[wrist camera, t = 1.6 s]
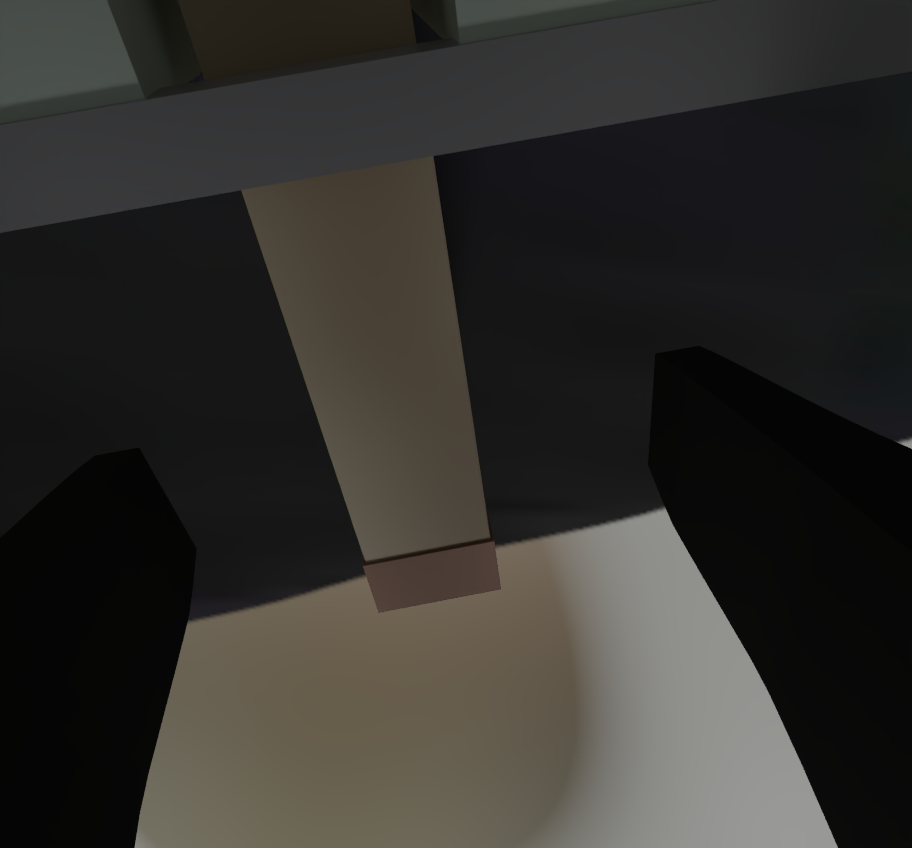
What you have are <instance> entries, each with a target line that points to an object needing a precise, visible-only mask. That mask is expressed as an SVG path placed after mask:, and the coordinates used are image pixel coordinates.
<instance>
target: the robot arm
mask: <svg viewBox="0 0 912 848" xmlns="http://www.w3.org/2000/svg"><path fill="white" fill-rule="evenodd" d="M648 466H649V468H650V471H651V473H652V476H653V478H654V481H655V483H656V486H657V488H658V491H659V493H660V496H661V498H662V501H663V503H664V505H665V508H666V510H667V512H668V514H669V517H670V519H671V521H672V524H673V526H674V527H675V529H676V531H677V533H678V535H679V536H680V538H681V540H682V542H683V543H684V545H685V547H686V549H687V550H688V552H689V554H690V556H691V557H692V559H693V561H694V562H695V564H696V566H697V568H698V569H699V571H700V573H701V574H702V576H703V578H704V579H705V581H706V583H707V585H708V586H709V588H710V590H711V592H712V593H713V595H714V597H715V598H716V600H717V602H718V604H719V605H720V607H721V609H722V610H723V612H724V614H725V615H726V617H727V619H728V621H729V622H730V624H731V626H732V627H733V629H734V631H735V633H736V634H737V636H738V638H739V639H740V641H741V643H742V645H743V646H744V648H745V650H746V651H747V653H748V655H749V656H750V658H751V660H752V662H753V663H754V666H755V667H756V669H757V671H758V673H759V675H760V677H761V679H762V681H763V683H764V684H765V686H766V688H767V690H768V692H769V694H770V696H771V698H772V701H773V703H774V705H775V707H776V709H777V711H778V714H779V716H780V718H781V720H782V722H783V724H784V727H785V729H786V731H787V733H788V735H789V737H790V740H791V742H792V744H793V746H794V748H795V750H796V753H797V755H798V757H799V759H800V761H801V764H802V766H803V768H804V770H805V773H806V775H807V777H808V780H809V782H810V784H811V786H812V789H813V791H814V793H815V796H816V798H817V800H818V802H819V805H820V807H821V809H822V812H823V814H824V816H825V819H826V821H827V823H828V826H829V828H830V830H831V832H832V835H833V837H834V839H835V842H836V844H837V846H838V848H912V449H911V448H908V447H906V446H904V445H902V444H899V443H897V442H895V441H892V440H890V439H888V438H886V437H883V436H881V435H879V434H877V433H875V432H872V431H870V430H868V429H866V428H864V427H862V426H860V425H858V424H855V423H853V422H851V421H849V420H847V419H845V418H843V417H841V416H839V415H837V414H835V413H833V412H831V411H828V410H826V409H824V408H822V407H820V406H818V405H816V404H814V403H812V402H810V401H808V400H806V399H804V398H803V397H801V396H799V395H797V394H795V393H793V392H791V391H789V390H787V389H785V388H783V387H781V386H779V385H777V384H775V383H773V382H771V381H769V380H767V379H765V378H764V377H762V376H760V375H758V374H756V373H754V372H752V371H750V370H748V369H746V368H744V367H742V366H740V365H738V364H736V363H734V362H732V361H730V360H728V359H726V358H724V357H722V356H720V355H718V354H716V353H714V352H712V351H709V350H707V349H705V348H702V347H700V346H696V347H690V348H685V349H679V350H674V351H668V352H663V353H657V354H655V368H654V383H653V399H652V414H651V429H650V444H649V460H648ZM195 558H196V547H195V545H194V543H193V542H192V540H191V538H190V536H189V535H188V533H187V531H186V529H185V528H184V526H183V524H182V522H181V521H180V519H179V517H178V515H177V514H176V512H175V510H174V508H173V507H172V505H171V503H170V501H169V500H168V498H167V496H166V494H165V493H164V491H163V489H162V487H161V486H160V484H159V482H158V480H157V478H156V477H155V475H154V473H153V471H152V470H151V468H150V466H149V464H148V463H147V461H146V459H145V457H144V456H143V454H142V452H141V450H140V449H139V448H135V449H130V450H124V451H119V452H113V453H108V454H102V455H97V456H94V457H93V458H91V459H90V460H89V461H87V462H86V463H85V464H83V465H82V466H81V467H80V468H78V469H77V470H76V471H75V472H74V473H72V474H71V475H70V476H69V477H68V478H66V479H65V480H64V481H63V482H62V483H61V484H60V485H58V486H57V487H56V488H55V489H54V490H53V491H52V492H50V493H49V494H48V495H47V496H46V497H45V498H44V499H43V500H42V501H41V502H39V503H38V504H37V505H36V506H35V507H34V508H33V509H32V510H31V511H29V512H28V513H27V514H26V515H25V516H24V517H23V518H22V519H21V520H20V521H19V522H17V523H16V524H15V525H14V526H13V527H12V528H11V529H10V530H9V531H7V532H6V533H5V534H4V535H3V536H2V537H1V538H0V848H134V847H135V840H136V834H137V828H138V821H139V815H140V810H141V805H142V801H143V796H144V791H145V787H146V782H147V778H148V773H149V769H150V766H151V761H152V758H153V754H154V750H155V746H156V742H157V739H158V734H159V731H160V727H161V723H162V719H163V716H164V711H165V708H166V704H167V700H168V697H169V693H170V689H171V685H172V681H173V678H174V674H175V670H176V666H177V662H178V658H179V653H180V650H181V646H182V642H183V638H184V634H185V630H186V626H187V622H188V617H189V612H190V604H191V597H192V589H193V580H194V569H195Z"/></svg>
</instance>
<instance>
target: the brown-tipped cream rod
mask: <svg viewBox="0 0 912 848" xmlns="http://www.w3.org/2000/svg"><path fill="white" fill-rule="evenodd" d="M178 2H179V5H180V8H181V11H182V14H183V17H184V20H185V23H186V26H187V29H188V32H189V35H190V38H191V41H192V44H193V47H194V50H195V53H196V56H197V59H198V62H199V65H200V68H201V71H202V74H203V77H204V80H210V79H215V78H221V77H227V76H233V75H238V74H244V73H250V72H256V71H262V70H267V69H273V68H279V67H285V66H290V65H296V64H302V63H308V62H313V61H319V60H325V59H331V58H337V57H342V56H348V55H354V54H360V53H365V52H371V51H377V50H383V49H388V48H394V47H400V46H406V45H412V44H416V37H415V31H414V24H413V17H412V11H411V4H410V0H178ZM241 191H242V194H243V197H244V200H245V203H246V206H247V209H248V212H249V215H250V218H251V221H252V224H253V227H254V230H255V233H256V236H257V239H258V242H259V245H260V248H261V250H262V253H263V256H264V259H265V262H266V265H267V268H268V271H269V274H270V277H271V280H272V283H273V286H274V289H275V292H276V295H277V298H278V301H279V304H280V307H281V310H282V313H283V316H284V319H285V322H286V325H287V328H288V331H289V334H290V337H291V340H292V343H293V346H294V349H295V352H296V355H297V358H298V361H299V364H300V367H301V370H302V373H303V376H304V379H305V382H306V385H307V388H308V391H309V394H310V397H311V400H312V403H313V406H314V409H315V412H316V415H317V418H318V421H319V424H320V427H321V430H322V433H323V436H324V439H325V442H326V445H327V448H328V451H329V454H330V457H331V460H332V463H333V466H334V469H335V472H336V475H337V478H338V481H339V484H340V487H341V490H342V493H343V496H344V499H345V502H346V505H347V508H348V511H349V514H350V517H351V520H352V523H353V526H354V529H355V532H356V535H357V538H358V541H359V544H360V547H361V550H362V553H363V568H364V571H365V574H366V577H367V580H368V583H369V585H370V588H371V591H372V594H373V597H374V600H375V603H376V606H377V609H378V612H379V613H380V612H384V611H390V610H395V609H400V608H406V607H410V606H416V605H421V604H426V603H432V602H437V601H442V600H447V599H452V598H458V597H463V596H468V595H473V594H478V593H484V592H489V591H494V590H499V589H501V586H500V579H499V572H498V565H497V558H496V551H495V544H494V539H493V535H492V530H491V526H490V522H489V518H488V514H487V509H486V505H485V500H484V493H483V486H482V480H481V473H480V466H479V460H478V453H477V446H476V440H475V433H474V426H473V419H472V413H471V406H470V399H469V393H468V386H467V379H466V372H465V366H464V359H463V352H462V346H461V339H460V332H459V326H458V319H457V312H456V305H455V299H454V292H453V285H452V279H451V272H450V265H449V259H448V252H447V245H446V238H445V232H444V225H443V218H442V212H441V205H440V198H439V192H438V185H437V178H436V171H435V165H434V158H433V156H431V157H425V158H420V159H414V160H408V161H403V162H397V163H391V164H386V165H380V166H374V167H369V168H363V169H357V170H352V171H346V172H341V173H335V174H329V175H324V176H318V177H312V178H307V179H301V180H295V181H290V182H284V183H278V184H273V185H267V186H261V187H256V188H250V189H245V190H241Z"/></svg>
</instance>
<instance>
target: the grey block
mask: <svg viewBox="0 0 912 848" xmlns="http://www.w3.org/2000/svg"><path fill="white" fill-rule="evenodd" d="M410 4H411V8H412V9H413V10H414V11H415V12H416V13H417V14H418V15H419V16H420V17H421V18H422V19H423V20H424V21H425V22H426V23H427V24H428V25H429V26H430V27H431V28H432V29H433V30H434V31H435V32H436V33H437V34H438V35H439V36H440V37H441V38H442V39H440V40H435V41H429V42H423V43H417V44H412V45H406V46H400V47H394V48H388V49H383V50H377V51H371V52H365V53H360V54H354V55H348V56H342V57H337V58H331V59H325V60H319V61H313V62H308V63H302V64H296V65H290V66H285V67H279V68H273V69H267V70H262V71H256V72H250V73H244V74H238V75H233V76H227V77H221V78H215V79H210V80H204V81H198V82H192V83H188V82H189V81H191V80H192V79H193V78H195V77H196V76H197V75H198V74H200V73H201V72H202V71H201V68H200V65H199V62H198V59H197V56H196V53H195V50H194V47H193V44H192V41H191V38H190V35H189V32H188V29H187V26H186V23H185V20H184V17H183V14H182V11H181V8H180V5H179V2H178V0H0V233H2V232H7V231H13V230H19V229H24V228H30V227H36V226H41V225H47V224H53V223H58V222H64V221H69V220H75V219H81V218H86V217H92V216H98V215H103V214H109V213H115V212H120V211H126V210H132V209H137V208H143V207H149V206H154V205H160V204H165V203H171V202H177V201H182V200H188V199H194V198H199V197H205V196H211V195H216V194H222V193H228V192H233V191H239V190H245V189H250V188H256V187H261V186H267V185H273V184H278V183H284V182H290V181H295V180H301V179H307V178H312V177H318V176H324V175H329V174H335V173H341V172H346V171H352V170H357V169H363V168H369V167H374V166H380V165H386V164H391V163H397V162H403V161H408V160H414V159H420V158H425V157H431V156H437V155H442V154H448V153H453V152H459V151H465V150H470V149H476V148H482V147H487V146H493V145H499V144H504V143H510V142H516V141H521V140H527V139H533V138H538V137H544V136H549V135H555V134H561V133H566V132H572V131H578V130H583V129H589V128H595V127H600V126H606V125H612V124H617V123H623V122H629V121H634V120H640V119H645V118H651V117H657V116H662V115H668V114H674V113H679V112H685V111H691V110H696V109H702V108H708V107H713V106H719V105H725V104H730V103H736V102H741V101H747V100H753V99H758V98H764V97H770V96H775V95H781V94H787V93H792V92H798V91H804V90H809V89H815V88H820V87H826V86H832V85H837V84H843V83H849V82H854V81H860V80H866V79H871V78H877V77H883V76H888V75H894V74H900V73H905V72H911V71H912V0H410Z"/></svg>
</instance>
